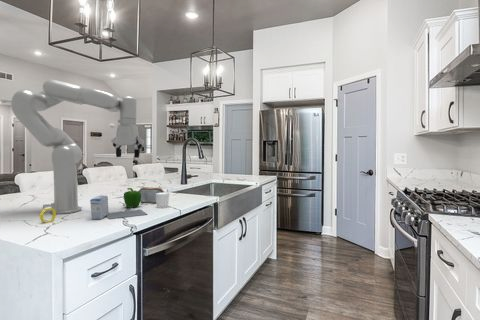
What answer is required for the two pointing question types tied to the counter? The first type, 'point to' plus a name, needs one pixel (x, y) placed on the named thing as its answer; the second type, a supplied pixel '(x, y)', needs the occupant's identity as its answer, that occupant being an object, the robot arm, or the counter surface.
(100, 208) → the medicine box
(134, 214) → the mat
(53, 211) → the yellow ring
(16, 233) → the counter surface
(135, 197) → the bell pepper
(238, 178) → the counter surface
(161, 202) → the shot glass
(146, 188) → the grey curved block
